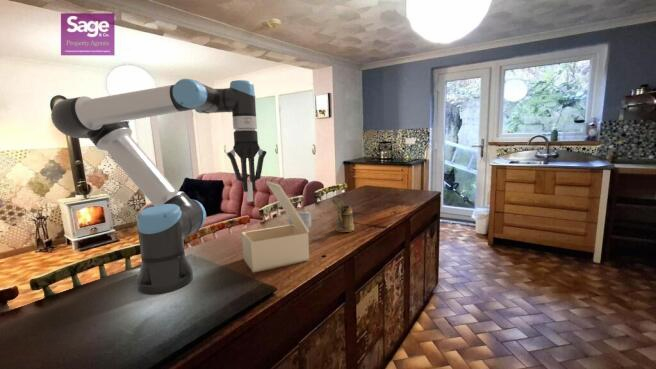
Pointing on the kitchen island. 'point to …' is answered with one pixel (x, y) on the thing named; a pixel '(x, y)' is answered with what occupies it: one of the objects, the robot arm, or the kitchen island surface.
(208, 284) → the kitchen island surface
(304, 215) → the teacup
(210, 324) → the kitchen island surface
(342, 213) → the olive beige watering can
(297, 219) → the lid
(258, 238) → the carton
